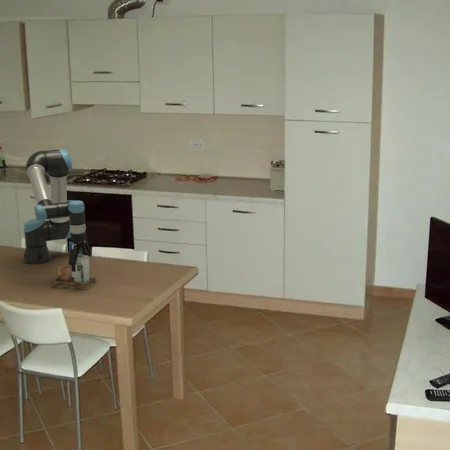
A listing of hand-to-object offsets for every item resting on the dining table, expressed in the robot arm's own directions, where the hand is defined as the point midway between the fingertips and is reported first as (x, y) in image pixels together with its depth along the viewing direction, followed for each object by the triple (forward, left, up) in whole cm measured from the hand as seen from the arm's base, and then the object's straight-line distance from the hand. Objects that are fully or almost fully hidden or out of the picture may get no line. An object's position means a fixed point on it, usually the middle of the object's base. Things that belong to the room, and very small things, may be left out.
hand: (81, 273), depth 349 cm
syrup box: (0, 0, -6) cm, 6 cm away
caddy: (0, -4, -7) cm, 8 cm away
